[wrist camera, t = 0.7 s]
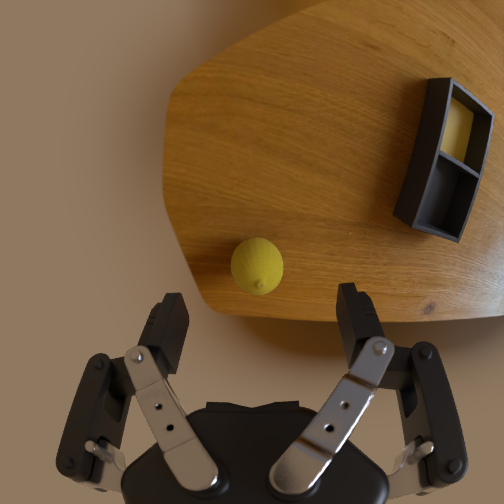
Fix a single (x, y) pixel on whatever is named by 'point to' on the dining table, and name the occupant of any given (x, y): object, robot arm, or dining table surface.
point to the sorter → (446, 161)
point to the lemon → (257, 266)
